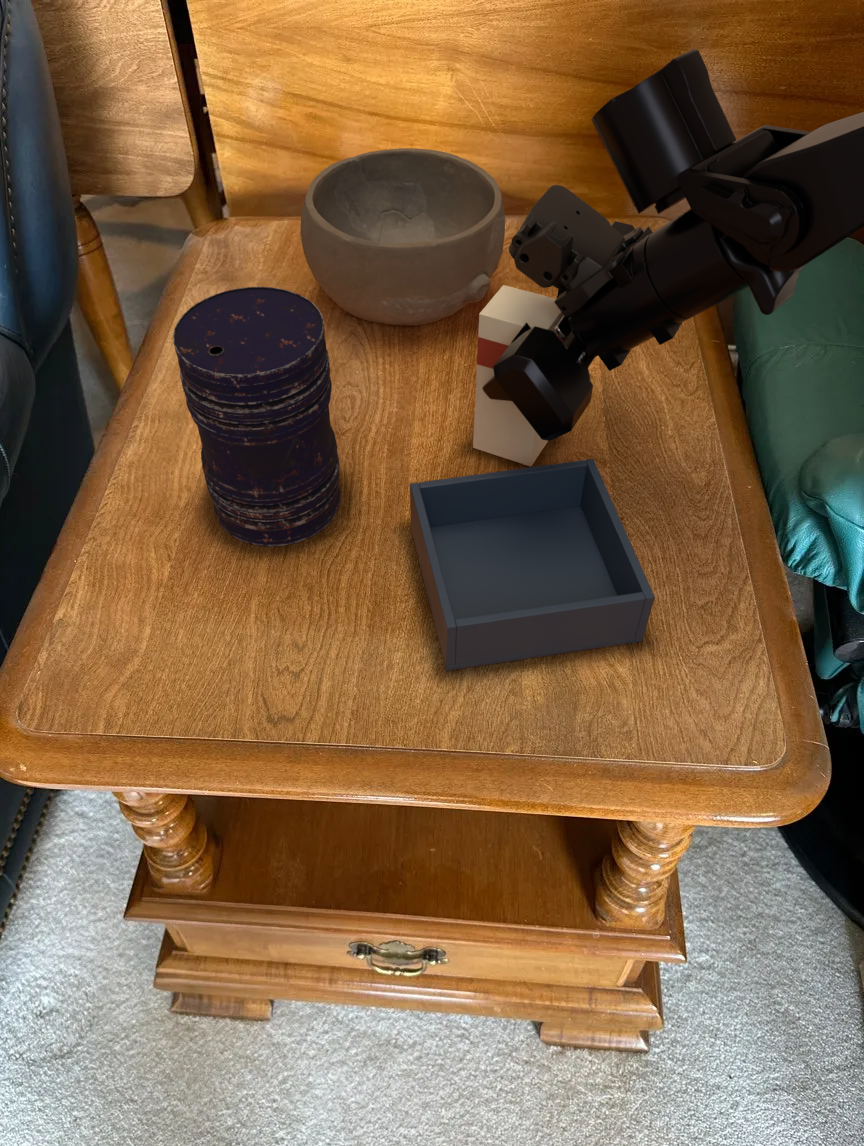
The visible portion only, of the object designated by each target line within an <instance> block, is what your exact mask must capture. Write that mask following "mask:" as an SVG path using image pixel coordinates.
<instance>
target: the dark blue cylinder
mask: <svg viewBox="0 0 864 1146" xmlns="http://www.w3.org/2000/svg"><path fill="white" fill-rule="evenodd" d="M172 340H173V341H172V343H173V346H174V350H175V353H176V357H177V363H178V366H179V376H180V382H181V385H182V390H183V393H184V396H185V404H186V407H187V410H188V412H189V414H190V415H191V419H192V420H193V422H194V424H195V425H196V426H197V430H198V431H197V432H198V435H199V439H200V442H201V449H200V459H201V467H202V472H203V474H204V475H203V476H204V480H205V484H206V487H207V491H208V494H209V496H210V498H211V501H212V504H213V511H214V514H215V517H216V520H217V522H218V523H219V525H220V526H221V528H222V529H223V530H224V531H225V532H226V533H227V534H228V535H230V536H231V537H232V538H235V539H236V540H238V541H240V542H243V543H246V544H249V545H254V546H259V547H283V546H288V545H292V544H296V543H300V542H303V541H306V540H308V539H310V538H313V537H314V536H316V535H317V534H320V532H322V531H323V530H324V529H326V527H327V526H329V525H330V524H331V522H332V521H333V520H334V518H335V517H336V515H337V514H338V511H339V509H340V506H341V500H342V499H341V498H342V493H341V487H340V474H341V473H340V472H341V468H340V459H339V458H340V457H339V453H338V443H337V439H336V433H335V430H334V429H333V426H332V425H331V416H330V415H331V414H330V402H331V399H332V398H331V397H332V388H333V387H332V385H333V383H332V379H331V365H330V355H329V351H328V349H327V342H326V331H325V321H324V317H323V315H322V312H321V310H320V309H319V307H318V306H317V305H316V304H315V303H313V302H312V301H311V300H310V299H308V297H307V298H306V297H305V296H304V295H302V294H300V293H297V292H294V291H293V290H288V289H284V288H279V287H273V286H247V287H237V288H233V289H229V290H225V291H221V292H218V293H215V294H213V295H211V296H208V297H206V298H204V299H202V300H200V301H198V302H197V303H195V304H194V305H192V306H191V307H189V308H188V309H187V310H186V311H185V312H184V313H183V314H182V315H181V316H180V318H179V319H178V320H177V322H176V324H175V326H174V329H173V334H172Z"/></svg>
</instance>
